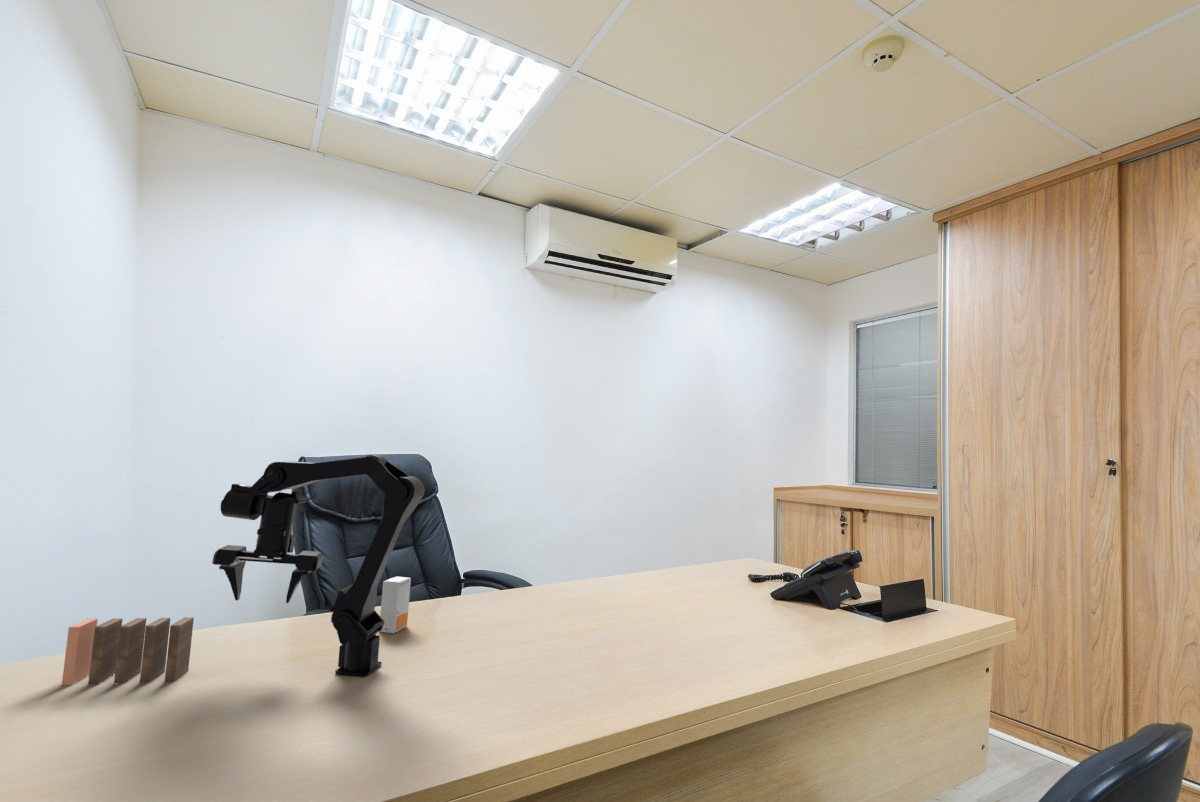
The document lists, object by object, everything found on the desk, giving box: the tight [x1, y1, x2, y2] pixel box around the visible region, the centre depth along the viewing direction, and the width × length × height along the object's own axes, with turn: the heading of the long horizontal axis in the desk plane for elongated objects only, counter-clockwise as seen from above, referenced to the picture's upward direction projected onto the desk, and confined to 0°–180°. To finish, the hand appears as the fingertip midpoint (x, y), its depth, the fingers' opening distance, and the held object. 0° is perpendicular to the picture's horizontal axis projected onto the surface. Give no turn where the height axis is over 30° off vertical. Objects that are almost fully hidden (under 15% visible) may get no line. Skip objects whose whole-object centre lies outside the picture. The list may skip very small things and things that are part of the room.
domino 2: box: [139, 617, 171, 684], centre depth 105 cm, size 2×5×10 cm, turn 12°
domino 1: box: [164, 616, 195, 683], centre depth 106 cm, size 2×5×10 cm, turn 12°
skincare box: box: [379, 576, 412, 634], centre depth 138 cm, size 6×4×12 cm
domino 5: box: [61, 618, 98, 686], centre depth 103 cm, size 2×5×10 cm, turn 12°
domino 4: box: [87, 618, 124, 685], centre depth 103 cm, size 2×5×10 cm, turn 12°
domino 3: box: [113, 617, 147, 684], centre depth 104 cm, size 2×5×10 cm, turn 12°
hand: (262, 601), depth 113 cm, fingers open, 9 cm apart
